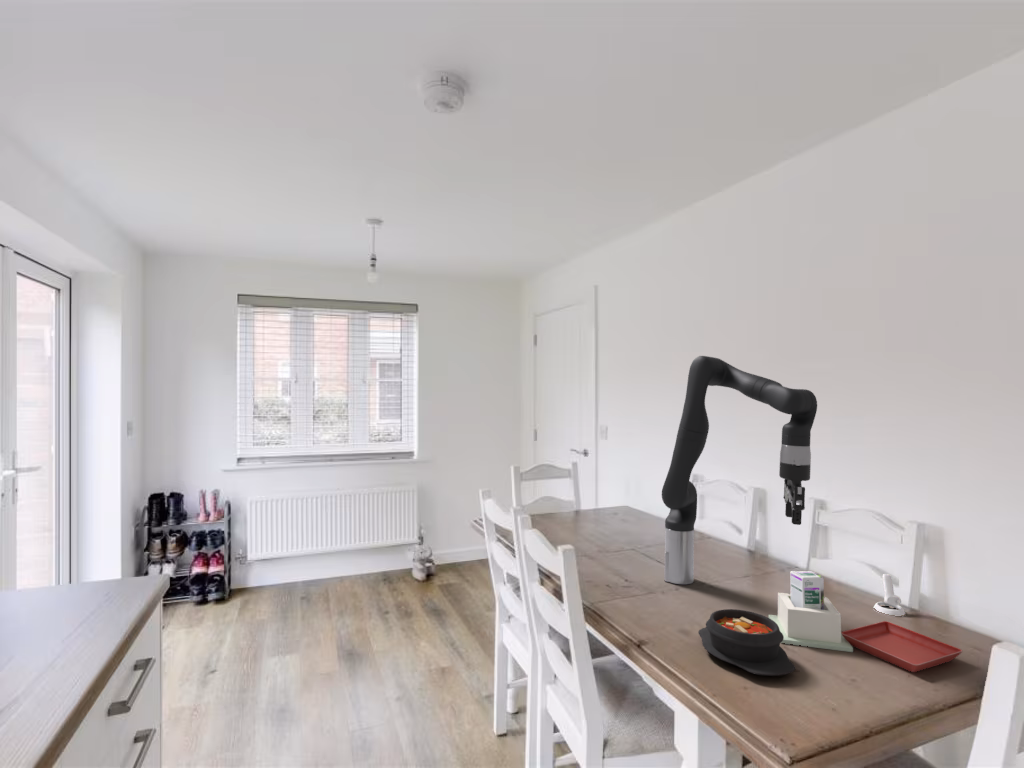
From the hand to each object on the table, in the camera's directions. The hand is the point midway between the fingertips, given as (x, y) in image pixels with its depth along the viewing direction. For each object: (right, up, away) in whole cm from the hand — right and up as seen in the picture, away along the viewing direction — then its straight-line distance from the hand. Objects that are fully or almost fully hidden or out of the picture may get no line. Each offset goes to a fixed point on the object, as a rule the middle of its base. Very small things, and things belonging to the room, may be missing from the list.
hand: (792, 520), depth 150 cm
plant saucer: (+17, -28, -18) cm, 37 cm away
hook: (+32, -29, +8) cm, 44 cm away
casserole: (-22, -27, -21) cm, 41 cm away
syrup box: (0, -27, -7) cm, 28 cm away
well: (0, -28, -8) cm, 29 cm away
